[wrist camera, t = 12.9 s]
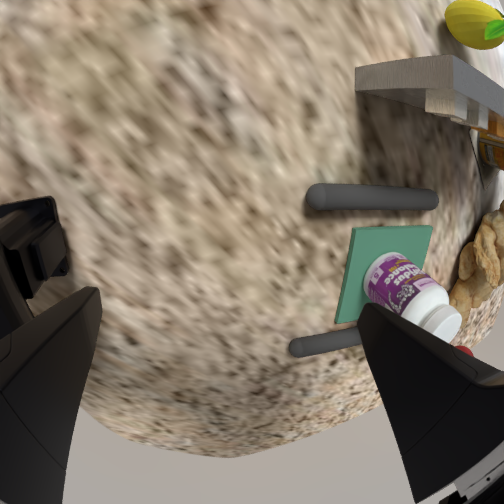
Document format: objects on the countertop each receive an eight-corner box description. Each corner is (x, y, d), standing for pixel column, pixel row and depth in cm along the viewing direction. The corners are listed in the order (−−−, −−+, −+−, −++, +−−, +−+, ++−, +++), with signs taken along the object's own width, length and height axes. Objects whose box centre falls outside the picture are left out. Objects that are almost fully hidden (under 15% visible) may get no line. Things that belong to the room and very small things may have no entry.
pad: (334, 320, 28) (337, 323, 28) (352, 227, 24) (356, 230, 23) (406, 305, 30) (409, 307, 30) (429, 225, 26) (433, 227, 25)
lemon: (431, 44, 17) (515, 40, 8) (421, -5, 15) (497, -21, 6) (469, 60, 18) (542, 65, 9) (461, 15, 16) (530, 11, 7)
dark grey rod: (301, 205, 22) (311, 214, 20) (303, 180, 21) (314, 186, 19) (427, 206, 25) (440, 213, 23) (430, 187, 24) (444, 193, 22)
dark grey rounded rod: (285, 349, 28) (291, 363, 27) (287, 335, 27) (293, 349, 26) (393, 326, 31) (402, 336, 29) (398, 313, 30) (407, 323, 28)
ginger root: (516, 186, 26) (554, 221, 20) (483, 268, 36) (510, 301, 30) (453, 203, 24) (503, 251, 18) (419, 298, 35) (448, 342, 29)
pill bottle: (396, 239, 25) (468, 292, 16) (408, 275, 27) (468, 328, 19) (353, 273, 25) (416, 341, 17) (370, 306, 28) (423, 370, 19)
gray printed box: (354, 102, 19) (453, 106, 10) (355, 67, 18) (452, 54, 9) (470, 135, 22) (543, 157, 13) (471, 109, 21) (545, 125, 12)
